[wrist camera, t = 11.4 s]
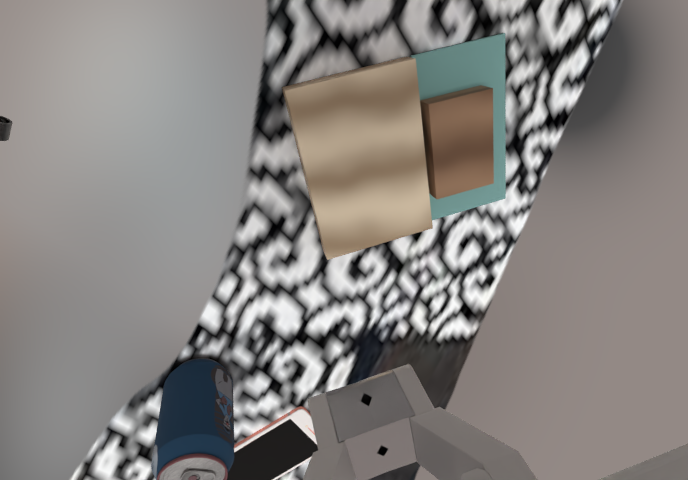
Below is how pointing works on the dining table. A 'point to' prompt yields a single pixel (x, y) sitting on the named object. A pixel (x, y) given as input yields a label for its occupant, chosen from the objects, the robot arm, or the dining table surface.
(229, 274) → the dining table surface
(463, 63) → the mat
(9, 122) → the coffee press
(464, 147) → the tile
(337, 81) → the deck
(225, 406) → the soda can
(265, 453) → the cell phone
